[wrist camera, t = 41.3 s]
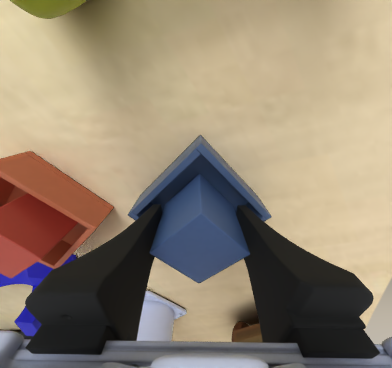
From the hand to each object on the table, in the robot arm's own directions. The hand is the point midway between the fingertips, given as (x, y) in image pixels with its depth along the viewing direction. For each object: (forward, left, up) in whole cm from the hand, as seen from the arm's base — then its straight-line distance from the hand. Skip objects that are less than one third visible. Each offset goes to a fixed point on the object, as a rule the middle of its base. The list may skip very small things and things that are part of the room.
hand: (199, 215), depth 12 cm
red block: (-11, +9, -2) cm, 14 cm away
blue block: (0, 0, -1) cm, 1 cm away
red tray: (-11, +9, -3) cm, 14 cm away
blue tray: (0, 0, -3) cm, 3 cm away
